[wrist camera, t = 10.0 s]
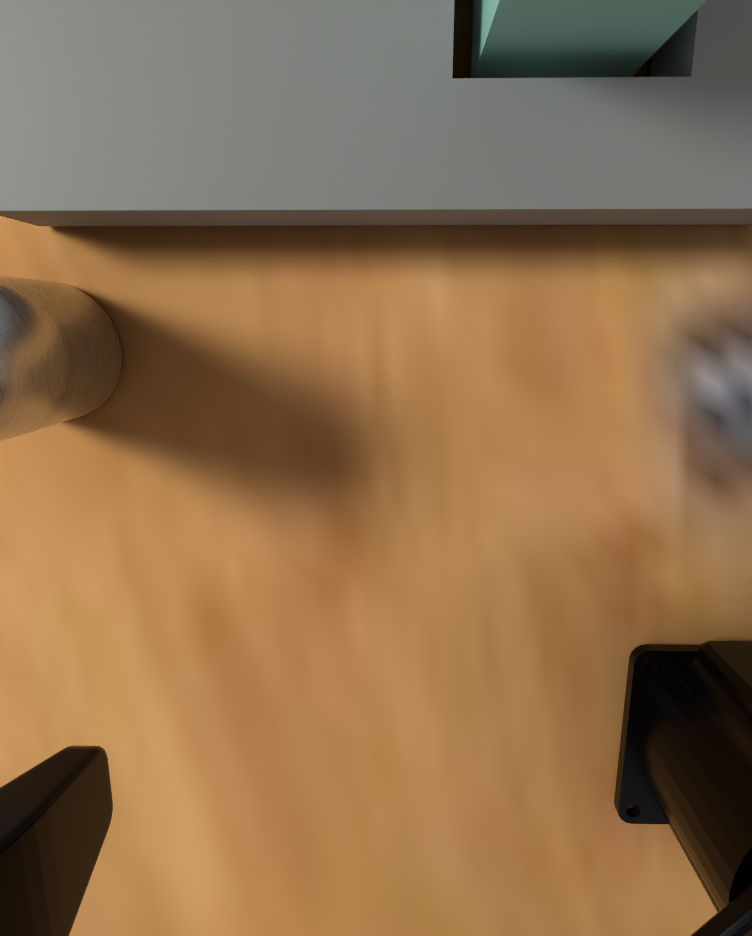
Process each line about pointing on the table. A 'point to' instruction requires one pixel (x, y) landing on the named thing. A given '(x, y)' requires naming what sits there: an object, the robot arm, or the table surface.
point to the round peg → (52, 355)
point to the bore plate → (355, 120)
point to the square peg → (571, 36)
